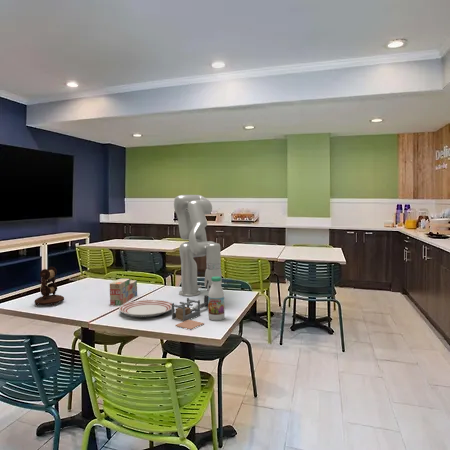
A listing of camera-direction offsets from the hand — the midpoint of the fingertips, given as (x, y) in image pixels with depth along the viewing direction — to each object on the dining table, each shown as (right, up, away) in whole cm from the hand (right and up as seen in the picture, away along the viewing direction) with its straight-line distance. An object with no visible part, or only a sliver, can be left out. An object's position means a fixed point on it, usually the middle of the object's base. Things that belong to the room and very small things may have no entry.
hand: (213, 299), depth 193 cm
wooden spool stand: (-91, -4, +6) cm, 91 cm away
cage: (-13, -5, -18) cm, 23 cm away
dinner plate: (-34, -5, -10) cm, 35 cm away
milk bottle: (+2, -5, -20) cm, 21 cm away
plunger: (-7, -4, -10) cm, 13 cm away
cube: (-14, -5, -20) cm, 25 cm away
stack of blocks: (-52, -3, +12) cm, 53 cm away
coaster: (-10, -5, -30) cm, 32 cm away
